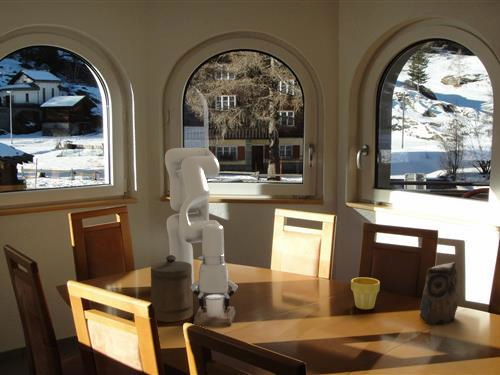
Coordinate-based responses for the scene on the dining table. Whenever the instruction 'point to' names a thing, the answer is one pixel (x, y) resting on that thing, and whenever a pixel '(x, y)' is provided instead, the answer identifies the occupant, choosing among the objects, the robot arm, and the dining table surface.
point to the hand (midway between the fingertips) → (214, 308)
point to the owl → (440, 295)
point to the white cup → (215, 305)
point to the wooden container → (172, 290)
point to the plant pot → (365, 292)
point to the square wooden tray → (214, 318)
